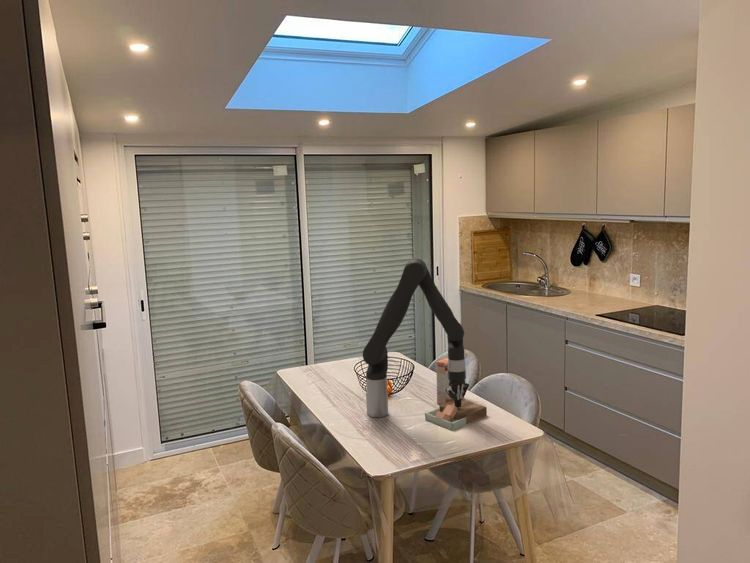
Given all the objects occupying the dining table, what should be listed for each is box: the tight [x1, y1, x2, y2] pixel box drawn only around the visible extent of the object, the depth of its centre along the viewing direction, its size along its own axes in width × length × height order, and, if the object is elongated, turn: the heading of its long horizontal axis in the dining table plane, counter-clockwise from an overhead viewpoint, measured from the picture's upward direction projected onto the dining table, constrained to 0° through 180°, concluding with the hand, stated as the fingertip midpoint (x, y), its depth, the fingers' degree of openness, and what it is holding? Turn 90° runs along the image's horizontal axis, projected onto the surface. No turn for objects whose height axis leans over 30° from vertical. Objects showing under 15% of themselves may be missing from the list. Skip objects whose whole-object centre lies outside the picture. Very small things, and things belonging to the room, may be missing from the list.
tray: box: [424, 407, 467, 431], centre depth 233 cm, size 16×9×3 cm, turn 39°
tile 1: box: [435, 411, 451, 421], centre depth 232 cm, size 4×4×2 cm
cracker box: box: [435, 357, 465, 405], centre depth 256 cm, size 14×6×21 cm, turn 132°
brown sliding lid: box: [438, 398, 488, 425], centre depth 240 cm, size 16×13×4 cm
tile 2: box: [442, 405, 458, 419], centre depth 234 cm, size 4×4×2 cm
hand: (458, 407), depth 237 cm, fingers closed
